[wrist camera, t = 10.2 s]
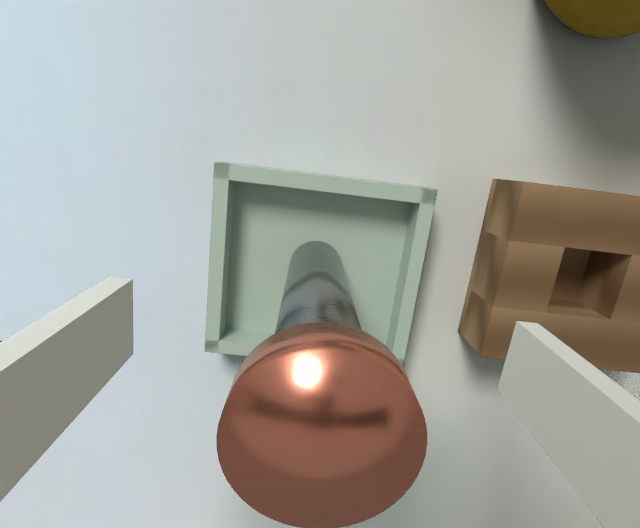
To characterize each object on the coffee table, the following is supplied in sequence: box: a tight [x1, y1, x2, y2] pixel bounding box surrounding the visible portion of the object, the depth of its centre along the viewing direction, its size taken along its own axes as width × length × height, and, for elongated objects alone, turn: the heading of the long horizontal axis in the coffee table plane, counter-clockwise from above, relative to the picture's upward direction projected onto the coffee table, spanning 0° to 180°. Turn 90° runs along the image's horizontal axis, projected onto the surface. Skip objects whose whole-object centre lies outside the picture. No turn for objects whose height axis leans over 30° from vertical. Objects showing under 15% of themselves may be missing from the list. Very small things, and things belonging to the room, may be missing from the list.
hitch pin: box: [217, 241, 427, 528], centre depth 16 cm, size 5×5×16 cm
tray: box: [205, 162, 437, 367], centre depth 23 cm, size 11×12×2 cm
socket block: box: [458, 179, 640, 373], centre depth 23 cm, size 10×10×4 cm
